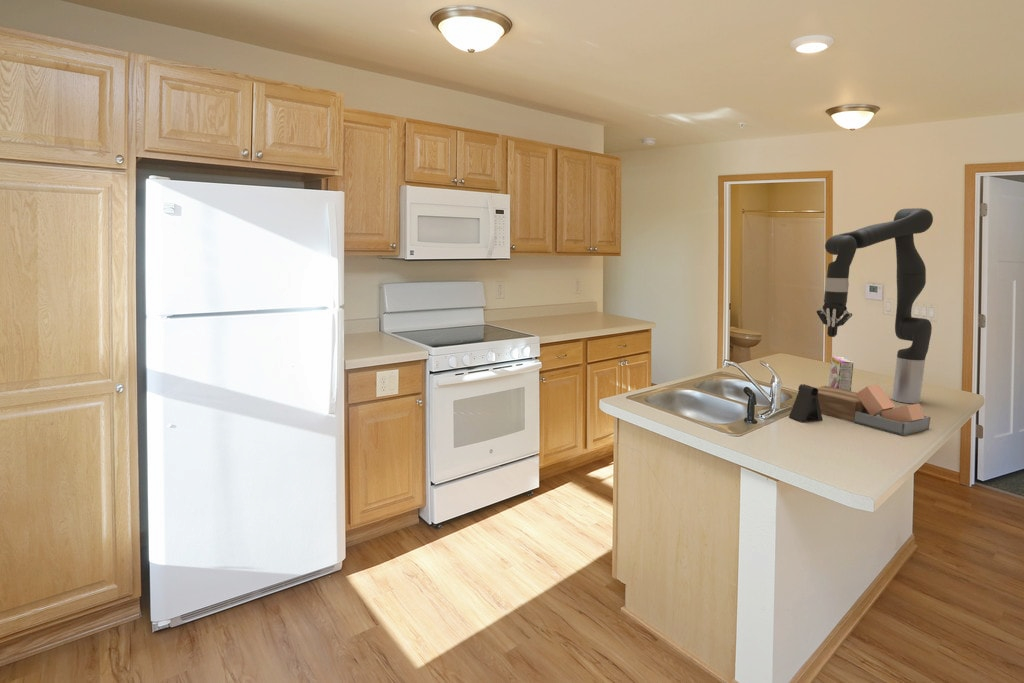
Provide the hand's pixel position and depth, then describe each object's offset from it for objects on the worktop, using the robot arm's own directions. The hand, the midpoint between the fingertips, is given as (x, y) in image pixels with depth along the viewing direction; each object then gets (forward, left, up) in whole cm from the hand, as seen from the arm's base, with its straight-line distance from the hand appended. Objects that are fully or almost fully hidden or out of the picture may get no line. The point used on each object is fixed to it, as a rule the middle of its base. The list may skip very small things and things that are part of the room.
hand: (831, 336), depth 216 cm
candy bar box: (-15, -4, -27) cm, 31 cm away
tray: (+3, +25, -27) cm, 37 cm away
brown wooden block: (+3, +7, -27) cm, 28 cm away
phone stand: (+22, +7, -27) cm, 36 cm away
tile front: (+3, +28, -20) cm, 34 cm away
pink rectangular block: (+4, +18, -21) cm, 28 cm away
